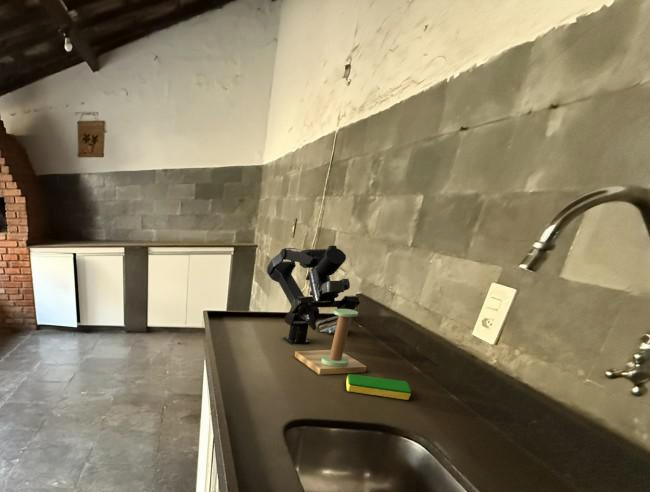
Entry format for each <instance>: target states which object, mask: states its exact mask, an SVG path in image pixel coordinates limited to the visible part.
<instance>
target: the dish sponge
mask: <svg viewBox="0 0 650 492" xmlns="http://www.w3.org/2000/svg"><path fill="white" fill-rule="evenodd" d="M345 382H346V391H347V392H351V393H359V394H363V395H364V394H365V395H372V396H379V397H384V398H385V397H386V398H391V399H397V400H405V401H408V400H410V397H411V394H412V390H411V387H410V384H409V382H408V381H406V380H398V379H390V378H383V377H376V376H367V375H359V374H355V373H347V376H346V381H345Z"/></svg>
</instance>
